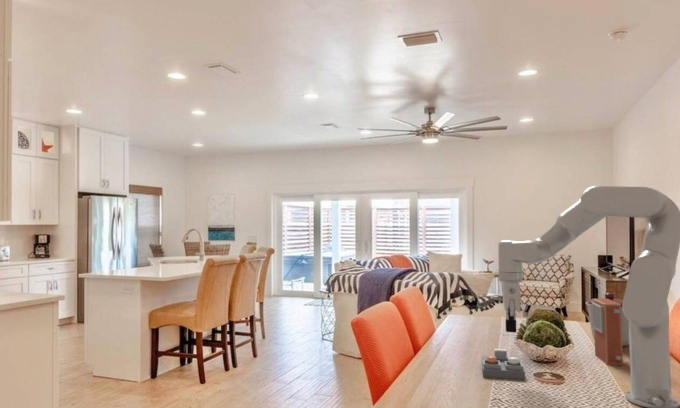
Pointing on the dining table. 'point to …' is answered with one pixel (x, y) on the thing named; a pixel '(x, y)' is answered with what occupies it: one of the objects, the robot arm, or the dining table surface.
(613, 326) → the control panel
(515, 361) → the white button
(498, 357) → the paddle
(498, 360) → the switch board
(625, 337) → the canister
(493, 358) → the terracotta button
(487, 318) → the dining table surface
